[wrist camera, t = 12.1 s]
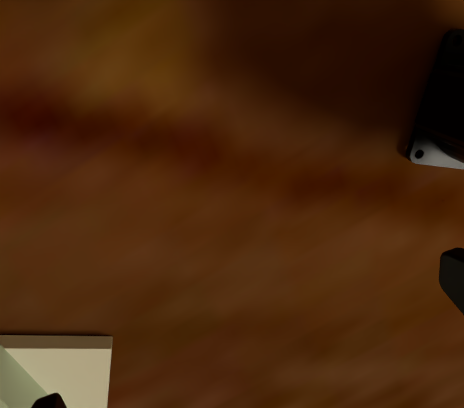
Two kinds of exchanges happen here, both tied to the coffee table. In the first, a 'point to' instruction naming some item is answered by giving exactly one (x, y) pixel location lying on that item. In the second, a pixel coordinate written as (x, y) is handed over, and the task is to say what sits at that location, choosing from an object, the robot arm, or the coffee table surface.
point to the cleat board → (54, 370)
